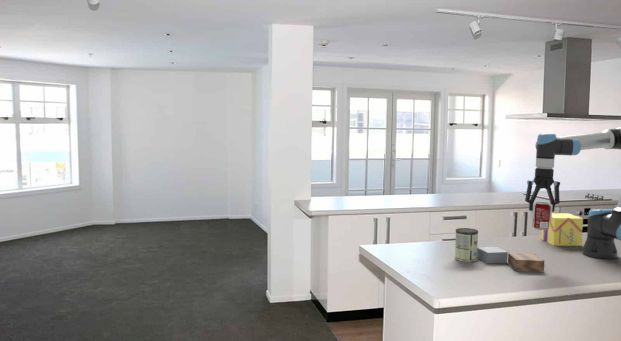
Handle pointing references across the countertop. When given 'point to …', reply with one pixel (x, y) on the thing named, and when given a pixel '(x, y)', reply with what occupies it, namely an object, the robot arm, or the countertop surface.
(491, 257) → the slate-grey block
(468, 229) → the coffee can
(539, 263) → the walnut block
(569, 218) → the toy block
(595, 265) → the countertop surface
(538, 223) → the soda can
